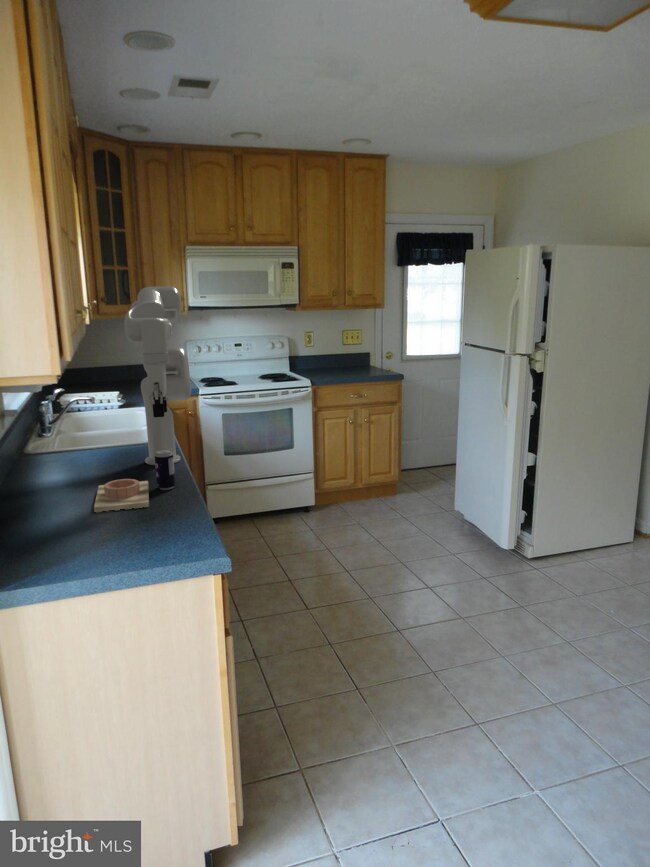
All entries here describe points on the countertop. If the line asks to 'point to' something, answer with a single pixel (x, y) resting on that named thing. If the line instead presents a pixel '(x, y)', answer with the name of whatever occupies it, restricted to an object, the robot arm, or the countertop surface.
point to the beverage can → (164, 469)
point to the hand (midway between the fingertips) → (160, 414)
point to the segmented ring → (121, 488)
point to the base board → (122, 500)
